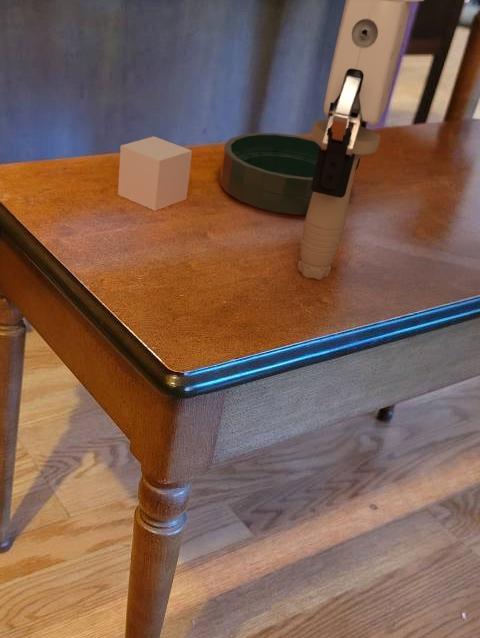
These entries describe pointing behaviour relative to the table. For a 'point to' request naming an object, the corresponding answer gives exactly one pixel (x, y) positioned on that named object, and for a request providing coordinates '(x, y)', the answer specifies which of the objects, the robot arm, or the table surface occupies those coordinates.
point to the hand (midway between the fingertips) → (335, 178)
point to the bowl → (270, 171)
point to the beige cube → (154, 172)
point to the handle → (329, 211)
